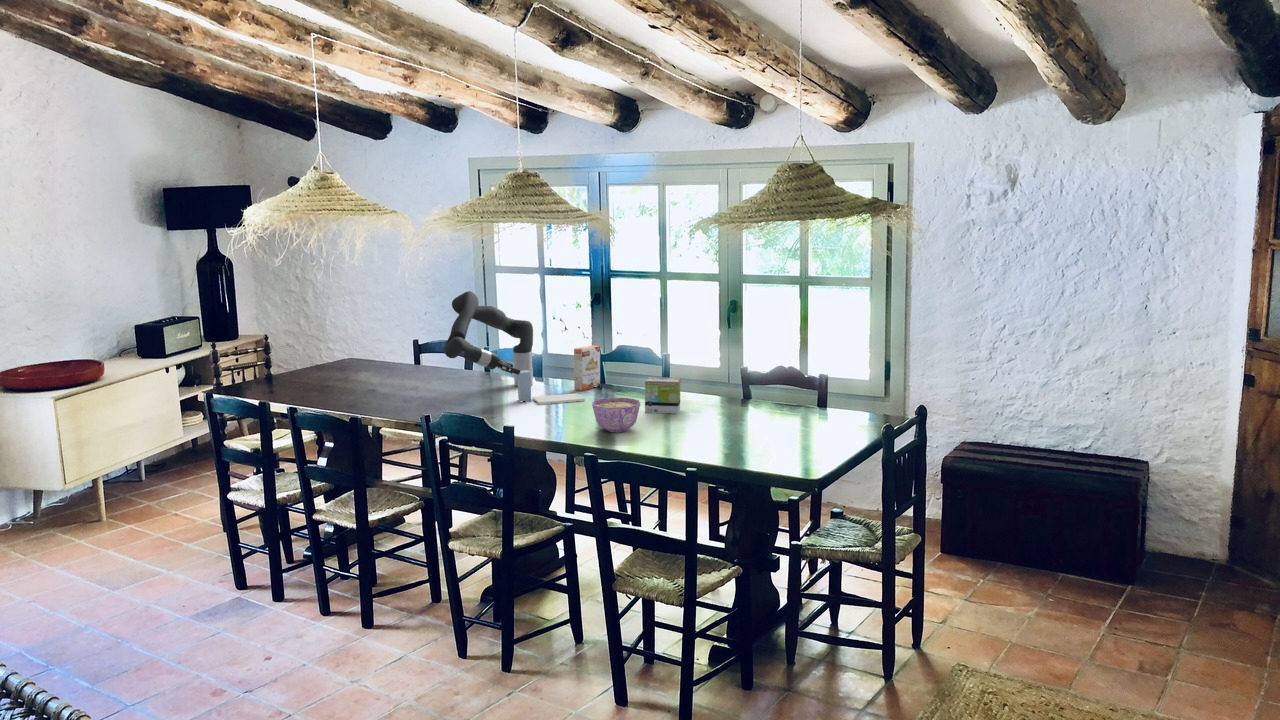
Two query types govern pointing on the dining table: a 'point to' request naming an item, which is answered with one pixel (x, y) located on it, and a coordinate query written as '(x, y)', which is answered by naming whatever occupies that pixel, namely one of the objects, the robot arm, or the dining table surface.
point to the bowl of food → (616, 413)
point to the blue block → (524, 386)
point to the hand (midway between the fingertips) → (515, 369)
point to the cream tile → (558, 398)
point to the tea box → (662, 395)
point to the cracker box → (586, 367)
